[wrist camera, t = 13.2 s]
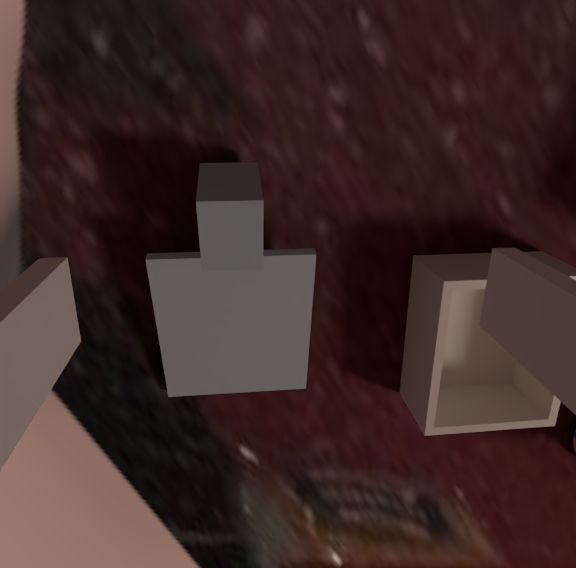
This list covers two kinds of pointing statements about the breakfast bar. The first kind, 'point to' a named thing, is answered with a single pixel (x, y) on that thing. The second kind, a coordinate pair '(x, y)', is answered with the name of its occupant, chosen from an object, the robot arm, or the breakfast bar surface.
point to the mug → (574, 440)
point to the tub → (465, 353)
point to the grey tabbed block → (232, 296)
